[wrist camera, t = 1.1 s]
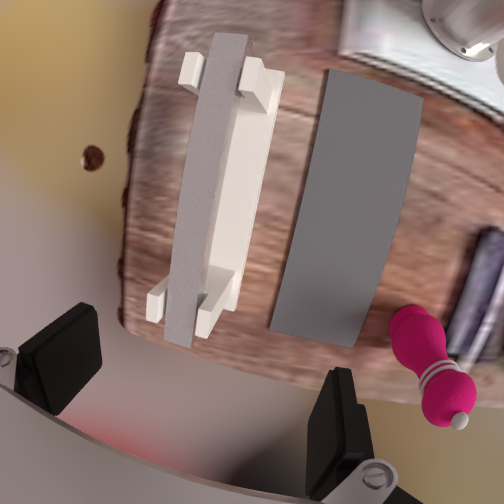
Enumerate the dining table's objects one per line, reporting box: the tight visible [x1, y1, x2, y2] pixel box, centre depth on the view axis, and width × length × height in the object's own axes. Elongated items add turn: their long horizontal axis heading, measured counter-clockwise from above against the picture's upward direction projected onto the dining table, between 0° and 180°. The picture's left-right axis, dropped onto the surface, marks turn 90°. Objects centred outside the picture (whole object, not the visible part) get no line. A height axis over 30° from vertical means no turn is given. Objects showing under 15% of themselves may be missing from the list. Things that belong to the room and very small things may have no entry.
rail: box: [164, 32, 253, 348], centre depth 27 cm, size 30×3×2 cm, turn 168°
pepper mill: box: [389, 305, 477, 430], centre depth 28 cm, size 7×7×20 cm
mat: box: [269, 69, 424, 348], centre depth 35 cm, size 34×12×1 cm, turn 168°
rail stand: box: [146, 52, 285, 339], centre depth 30 cm, size 30×8×12 cm, turn 168°
